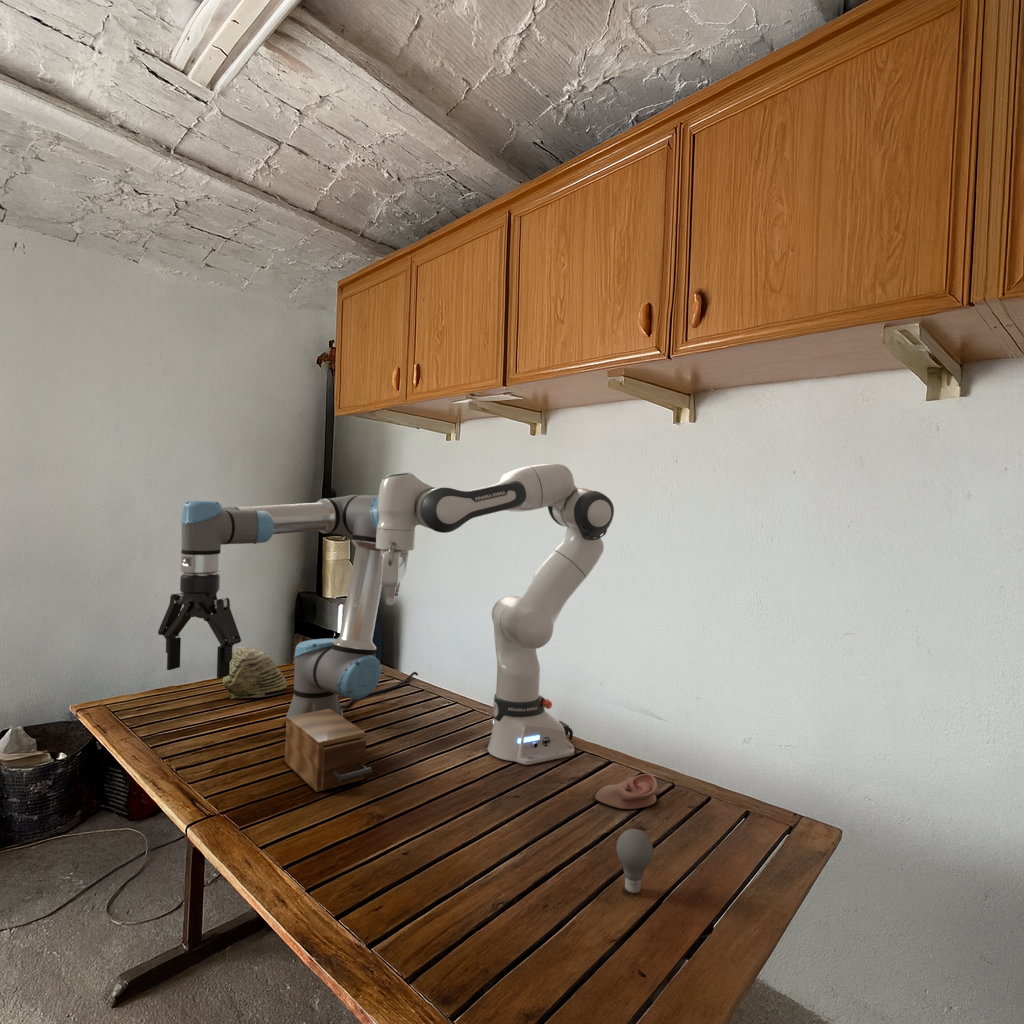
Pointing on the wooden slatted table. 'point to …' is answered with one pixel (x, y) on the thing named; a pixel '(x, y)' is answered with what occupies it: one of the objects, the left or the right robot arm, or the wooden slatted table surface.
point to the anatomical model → (630, 793)
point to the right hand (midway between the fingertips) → (392, 600)
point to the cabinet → (315, 741)
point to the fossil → (253, 675)
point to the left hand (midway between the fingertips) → (197, 672)
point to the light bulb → (634, 857)
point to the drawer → (343, 763)
